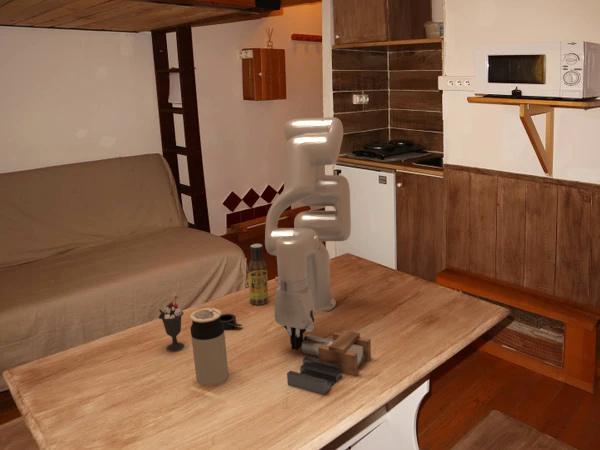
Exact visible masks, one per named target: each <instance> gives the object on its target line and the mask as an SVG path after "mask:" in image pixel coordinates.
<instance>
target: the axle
mask: <svg viewBox="0 0 600 450" xmlns="http://www.w3.org/2000/svg"><path fill="white" fill-rule="evenodd" d="M334 341H335V340H333V338H327V337H323V336H318V335H314V334H308V333H306V335H305V336H303V342H302V347H301V350H302V353H304V354H307V355H310V356H311V355H312V356H315V357H319V353H318V347H319V346H321V345H323V346H328V347H329V346H330V345H331V344H332V343H333V342H334ZM346 351H349V352H354V353H357V360H358V366H362V365H363V363H364V360H365V356H366V349H365V347H364V346H360V345H356V344H352V345H351V346H350V347H349V348H348V349H347V350H346Z"/></svg>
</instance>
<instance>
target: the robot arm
mask: <svg viewBox="0 0 600 450" xmlns="http://www.w3.org/2000/svg"><path fill="white" fill-rule="evenodd" d="M283 130H284V133H283V134H284V137H285V140H286V143H285V155H284V157H285V159H284V176H283V177H284V179H283V190H282V191H281V193H280V194H279V195H278V196H277V197H276V199H275V200H274V201H273V202H272V204H271V206H270V207H269V209H268V211H267V215H266V218H265V228H264V231H265V232H264V234H265V235H264V246H265V250H266V252H267V254H269V255H271V256H275V257H276V263H277V275H278V276H275V279H274V281H275V282H276V283H278V286H277V287H276V289H275V295H274V321H275V322H276V324H278V325H279V326H281V327H284V328H285V330H286V331H287V334H288V336H289V339H290V347H291V348H290V349H291V350H295V351H298V350H299V349H302V342H303V339H304V335H303V334H304V333H306V332H307V333H308V332H310V333H311V332H313V331H314V330H315V325H314V323H315V319H316V316H315V312H330V311H332V310H333V309H334V308H336V306H337V301H336V299H335V298H333V297H332V294H331V273H330V272H331V271H330V253H329V251H328V248H327V247H326V246H325V244H324V243H323V242H344V241H345V242H346V241H347V240H348V239H349V238H350V236H351V231H352V230H351V229H352V220H351V219H352V218H351V216H352V215H351V191H350V189H351V188H350V184H349V183H350V182H349V181H348V180H349V179H348V178H347V177H346V176H343V175H341V174H340V175H339V174H330V175H329V174H328V175H327V174H326V166H330V165H334V164H335V163H336V162H337V161H338V159H339V156H340V152H341V147H342V143H343V137H344V126H343V123H342V121H341V119H339V118H338V117H334V116H333V117H329V116H328V117H303V118H302V117H301V118H300V117H299V118H294V119H290V120H288V121H286V122H285V124H284V129H283ZM298 202H299V203H300V204H301V205H303V206H305V207H306V206H307V207H332V208H334V209H335V210H305V211H301V212H299V213H297V214H296V216H295V217H294V222H293V225H294V227H278V223H279V220H280V217H281V216H282V214H283V212H284V211H286V209H288V208H289V207H290V206H292V205H295V204H297V203H298Z"/></svg>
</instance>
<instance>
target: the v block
mask: <svg viewBox="0 0 600 450" xmlns="http://www.w3.org/2000/svg"><path fill="white" fill-rule="evenodd" d="M299 371H300V372H297V371H294V370H293V371H292V370H289V371H288V372H287V373H286V378H287V381H286V382H287V386H291V387H294V388H297V389H301V390H304V391H307V392H312V393H316V394H319V395H323V396H325V395H327V393H328V392H329V391H330V390H332V388H333V387H334V386H335V385H336V383H338V381H339V380H340V379H341V378H343V373H342V365H339V364H335V363H331V362H327V361H323V360H319V358H313V357H310V356H305V357H303V358H302V365H301V366H300V367H299Z"/></svg>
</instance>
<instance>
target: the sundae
mask: <svg viewBox="0 0 600 450" xmlns="http://www.w3.org/2000/svg"><path fill="white" fill-rule="evenodd" d="M177 299H178V296H174V298H173V300H172V301H171V302H169V303H168V304H167V305H165V307H164V308H163V311H162V309H158V311H159V312H160V314H159V316H158V319H159V320H162V324H163V326H164V330H165V332H166V334H167V335H168V336H169V337H171V340H172V341H171V342H172V343H170V344H169V345H167V346H166V350H167V351H168V350H169V351H168V352H178V350H179V351H181V350H183V349H184V348H185V344H184V343H183V342H178V339H177V336H178V335H179V334H180V333H181V330H182V316H183V315H184V311H183V310H181V308H180V307H178V306H179V305H178V303H176V300H177ZM182 348H183V349H182Z"/></svg>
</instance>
